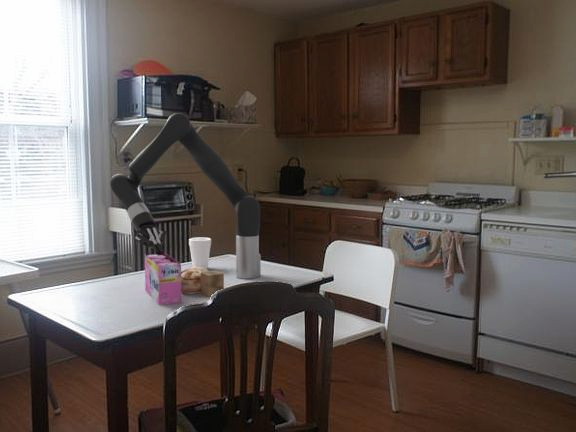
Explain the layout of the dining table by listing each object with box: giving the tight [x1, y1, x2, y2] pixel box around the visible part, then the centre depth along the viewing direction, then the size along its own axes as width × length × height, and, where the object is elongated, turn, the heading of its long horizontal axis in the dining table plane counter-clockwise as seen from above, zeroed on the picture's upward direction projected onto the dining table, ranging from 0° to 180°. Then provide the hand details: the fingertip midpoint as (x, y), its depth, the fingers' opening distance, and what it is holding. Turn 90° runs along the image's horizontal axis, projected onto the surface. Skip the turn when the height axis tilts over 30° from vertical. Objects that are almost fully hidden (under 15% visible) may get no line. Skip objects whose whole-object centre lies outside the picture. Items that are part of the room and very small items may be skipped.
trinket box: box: [181, 267, 209, 295], centre depth 202 cm, size 13×15×8 cm
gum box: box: [144, 252, 182, 306], centre depth 192 cm, size 24×8×14 cm, turn 27°
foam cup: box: [188, 236, 212, 270], centre depth 237 cm, size 10×9×13 cm
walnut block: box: [200, 270, 225, 298], centre depth 194 cm, size 6×6×8 cm
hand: (161, 253), depth 195 cm, fingers closed
